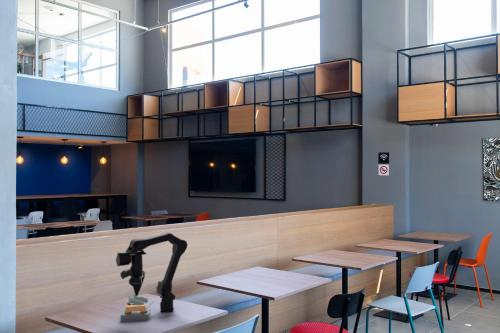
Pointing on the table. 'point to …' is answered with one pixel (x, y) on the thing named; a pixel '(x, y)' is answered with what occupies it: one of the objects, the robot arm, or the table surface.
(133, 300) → the metal bracket
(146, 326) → the table surface
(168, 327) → the table surface
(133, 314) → the slotted plate
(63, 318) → the table surface
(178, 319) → the table surface
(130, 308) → the clip
